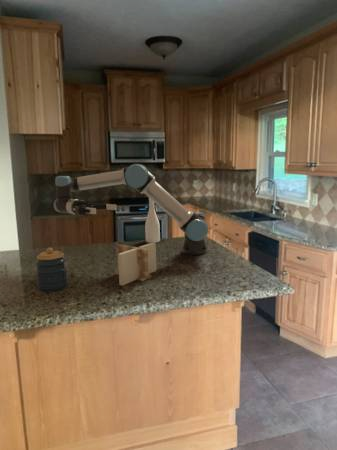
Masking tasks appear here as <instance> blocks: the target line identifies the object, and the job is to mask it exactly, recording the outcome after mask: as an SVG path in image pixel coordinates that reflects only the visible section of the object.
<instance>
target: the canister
mask: <svg viewBox="0 0 337 450" xmlns="http://www.w3.org/2000/svg"><path fill="white" fill-rule="evenodd" d="M66 261H67V258H66V257H65V253H63V252H62V251H60V250H55V249H53V247H47V249H46V251H42V252H40V253H38V254H37V255H36V260H35V261H34V264H35V266H36V268H35V273H36V274H35V275H36V286H37V289H38V290H39V291H41V292H45V293H48V292H57V291H61V290H64V289H65V288H67V287H68V286H69V279H68V265H67V263H66Z"/></svg>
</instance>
